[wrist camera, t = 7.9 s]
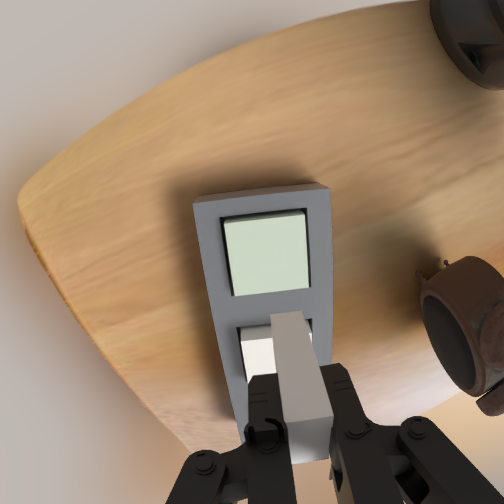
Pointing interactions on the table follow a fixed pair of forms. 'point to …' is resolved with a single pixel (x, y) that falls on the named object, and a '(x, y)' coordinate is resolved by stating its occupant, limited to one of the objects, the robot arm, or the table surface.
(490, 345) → the alarm clock
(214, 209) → the keypad
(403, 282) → the table surface
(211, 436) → the table surface
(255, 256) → the key sage
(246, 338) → the key offwhite
